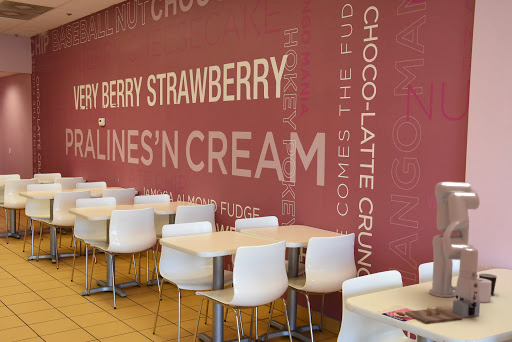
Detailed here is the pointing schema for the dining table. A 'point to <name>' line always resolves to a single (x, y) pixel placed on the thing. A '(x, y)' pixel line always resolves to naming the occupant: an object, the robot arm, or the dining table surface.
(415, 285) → the dining table surface
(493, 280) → the coffee mug
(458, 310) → the block
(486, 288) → the toilet tissue
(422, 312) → the housing base
